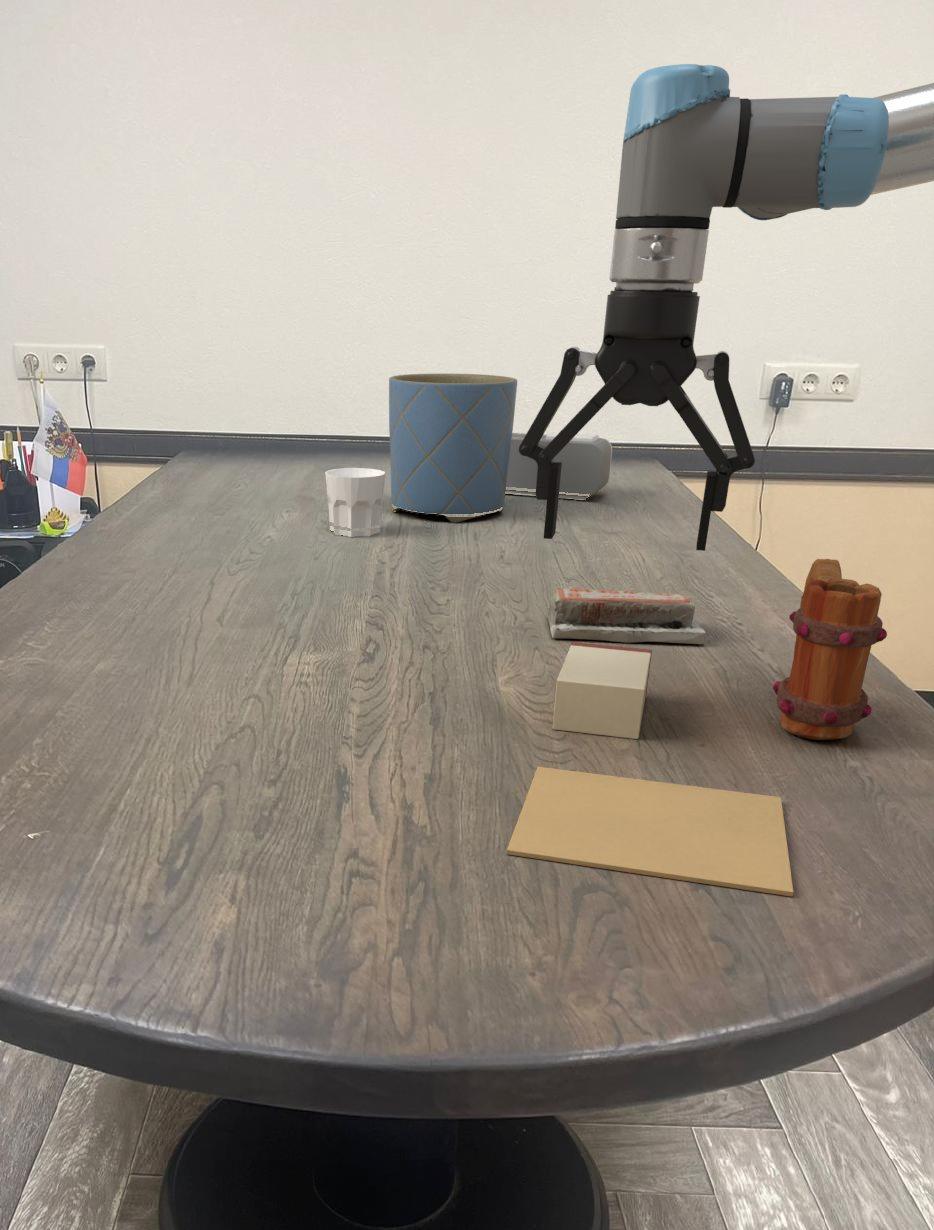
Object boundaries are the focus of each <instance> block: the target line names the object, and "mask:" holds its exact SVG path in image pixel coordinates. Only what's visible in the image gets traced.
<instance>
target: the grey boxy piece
mask: <svg viewBox="0 0 934 1230" xmlns="http://www.w3.org/2000/svg"><path fill="white" fill-rule="evenodd" d="M695 609H696V606H695V605H694V602H693V599H692V597H691V596H688V595H685V594H679V593H663V592H646V591H644V592H643V591H633V590H629V591H628V590H608V589H607V590H606V589H588V588H569V587H568V588H567V587H561V588H560V587H559V588H556V589H555V590H554V592H553V594H552V596H551V597H550V600H549V604H548V607H547V620H548V624H549V628H550V634H551V638H552V639H570V640H589V641H590V640H591V641H603V642H614V643H615V642H617V643H627V644H629V643H645V642H653V643H654V642H655V643H671V644H686V645H687V644H689V645H690V644H691V645H703V643H704V641H705V638H706V635H707V633H706V631H705V630H704V629H703V628H702V626H701V625H700V624H699V623H698V621H697V620H696V618H695V616H694V615H695Z"/></svg>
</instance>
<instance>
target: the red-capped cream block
mask: <svg viewBox="0 0 934 1230" xmlns="http://www.w3.org/2000/svg"><path fill="white" fill-rule="evenodd" d="M652 654H653V649H648V648H637V647H636V648H635V647H626V646H617V645H616V646H615V645H605V644H597V643H596V644H595V643H585V642H574V641H572V642H570V645H569V649H568V651H567V654H566V656H565V659H564V661H563V664H562V667H561V669H560V672H559V674H558V677H557V678H556V685H555V697H554V708H553V719H552V730H555V731H564V732H572V733H582V734H588V735H589V734H590V735H598V736H606V737H614V738H624V739H633V740H639V738H640V732H641V727H642V720H643V713H644V708H645V701H646V699H647V693H648V685H649V677H650V669H651V663H652Z"/></svg>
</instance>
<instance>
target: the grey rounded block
mask: <svg viewBox="0 0 934 1230" xmlns="http://www.w3.org/2000/svg"><path fill="white" fill-rule="evenodd" d="M558 433H559V432H555V431H554V432H551V433H549V434H546V433H544V434H543V436H542V438H541V439H540V441H539V443H538V444H541V445H543V446H545V447H546V446H547V445H548V444H549V443H550V442H551V441H552V440H553V439H554V438H555V437H556V436H557V435H558ZM526 434H527V432H521V433H520V432H512V440H511V448H510V455H509V464H508V473H507V482H506V487H516V488H527V489H536V483H537V470H538V465H537V463H536V461H535V460H533V459H531V458H529V457H527V456H523V455H521V454H520V453H519V446H520V444H521V443H522V441H523V439H524V437H525V436H526ZM612 456H613V446H612V443H611V442H610V441H609V440H608V439H607V438H604V437H599V435H598V434H591V433H590V434H588V433H577V434H576V435H575V436H574V437H573V438H572V439H571V440H570V442H569V443H568V444H567V445H566V446H565V447H564V448H563V449H562V450H561V451H560V452H559V453H558V454H557V455H556V456H555V457H554V460H553V462H562V467H561V478H560V488H559V492H565V493H567V492H568V493H579V494H590V495H591V494H593V495H594V494H596V493H598V492H599V491H600V490H602V489H603V488H604V487H606V485H607V484H608V483H609V480H610V476H611V467H612V459H613V458H612ZM505 492H511V493H521V494H532V495H536V492H528V491H516V490H506V491H505ZM590 495H589V496H590ZM587 497H588V496H578V495H566V494H559V498H572V499H584V500H585V499H586V498H587ZM585 501H586V500H585Z"/></svg>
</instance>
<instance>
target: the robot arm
mask: <svg viewBox="0 0 934 1230" xmlns="http://www.w3.org/2000/svg"><path fill="white" fill-rule="evenodd" d="M628 101H629V102H628V107H627V113H626V119H625V127H624V134H623V138H622V139H623V140H622V149H621V160H620V170H619V171H620V172H619V181H618V182H619V183H618V192H617V202H616V213H615V214H616V215H615V219H616V220H615V226H614V231H613V240H612V249H611V250H612V251H611V258H610V260H611V261H610V268H609V271H610V272H609V281H610V282H611V283H615V286H614V289H613V290H610V293H609V294H607V298H606V308H605V316H604V326H603V327H604V328H603V336H602V343H601V346H600V348H599V350H598V351H590V350H583V349H580V348H579V347H578V346H571V347H569V348H567V349H566V350H565V351H564V353H563V357H562V358H563V359H562V362H561V363H562V365H561V369H560V374H559V376H558V378H557V379H556V381H555V383H554V385H553V387H552V388H551V390H550V391H549V394H548V396H547V397H546V399H545V400H544V402H543V404H542V406H541V407H540V410H538V413H537V414H536V416H535V418H534V420H533V421H532V423H531V425H530V427H529V429H528V430H527V432H526V433H527V434H526V436H525V437H524V439H523V441H522V443H521V444H520V446H519V453H520V454H521V455H523V456H527V457H529V458H531V459H533V460H535V461H536V463H537V465H538V470H537V483H536V497H535V498H536V500H537V501H538V500H539V501H546V504H545V505H546V506H545V517H544V529H543V539H544V540H545V539H546V540H552V539H553V538H554V536H555V535H556V531H557V519H558V508H559V500H560V499H559V488H560V478H561V467H562V462H553V460H554V457H555V456H556V455H557V454H558V453H559V452H560V451H561V450H562V449H563V448H564V447H565V446H566V445H567V444H568V443H569V442H570V440H571V439H572V438H573V437H574V436H575V435H576V434H579V432H581V430H582V429H584V428H585V426H586V425H587V424H588V423H589V422H590V421H591V420H592V419H593V418H594V417H595V416H596V414H597V413H599V412H600V411H601V410H602V409H603V408H604V406H605V405H606V404H607V403H608V402H609V401H610V400H611V399H613V400H614V401H615V402H617V403H618V404H620V405H621V406H633V405H637V404H640V405H641V404H642V405H645V406H648V407H659V406H661V405H664V404H666V403H667V402H668V401H669V403H670V404H671V406H672V407H673V409H674V410H675V411H676V413H678V416H679V417H680V418H681V420H682V421H683V423H684V424H685V426H686V427H687V429H688V430H689V431H690V433H691V434H692V436H693V437H694V439H695V441H696V442H697V443H698V445H699V446H700V448H701V449H702V451H703V452H704V454H705V455H706V457H707V458H708V460H709V461H710V463H711V464H712V466H713V467H714V469H715V470H707V471H706V477H705V485H704V491H703V498H702V504H701V511H700V519H699V524H698V532H697V539H696V547H695V548H696V549H695V551H702V552H705V551H706V548H707V547H706V546H707V541H708V535H709V528H710V521H711V514H712V512H717V513H718V512H721V513H723V511H724V509H725V508H726V505H727V500H728V493H729V486H730V479H731V477H732V475H733V474H734V473H735V472H739V471H741V470H745V469H747V470H748V469H750V468H752V467H753V466H754V465H755V462H756V458H755V455H754V452H753V448H752V446H751V443H750V440H749V437H748V434H747V430H746V427H745V423H744V421H743V419H742V416H741V412H740V410H739V407H738V404H737V400H736V398H735V395H734V391H733V389H732V386H731V383H730V355H729V353H728V352H726V351H724V350H720V351H718V352H717V353H710V354H699V355H696V353H695V349H694V348H695V347H694V342H695V335H696V327H697V321H698V312H699V305H700V298H701V296H700V295H699V294H698V293H699V292H698V291H694V287H695V286H694V285H695V284H700V283H701V282H702V281H703V277H704V269H705V262H706V256H707V248H708V240H709V233H710V230H709V229H710V223H711V215H712V211H713V208H724V209H725V208H727V209H729V208H730V209H732V208H737V209H738V210H739V211H741V212H742V213H743V214H745V215H747V217H750V218H751V219H754V220H758V221H769V220H776V219H780V218H783V217H785V216H787V215H789V214H794V213H798V212H802V211H807V210H812V209H820V210H823V211H830V210H832V209H840V208H855V207H859V206H861V205H863V204H864V203H866V201H868V199H870V197H871V196H873V195H877V194H882V193H886V192H891V191H895V190H900V189H905V188H908V187H914V186H919V185H922V184H927V183H931V182H934V82H932V83H928V84H924V85H919V86H916V87H912V88H907V89H903V90H899V91H894V92H892V93H887V94H883V95H878V96H875V97H862V96H861V97H860V96H849V95H848V94H839V95H838V96H816V97H813V96H812V97H779V98H778V97H777V98H747V97H746V98H740V96H731V89H730V75H729V73H728V71H727V70H726V69H725V68H723V67H721V66H719V65H718V66H717V65H712V64H705V65H703V64H696V63H684V64H683V63H682V64H680V63H679V64H670V65H661V66H657V67H653V68H650V69H647V70H645V71H643V72H642V73H640V74H639V75H638V77H637V78H636V79H635V80H634V81H633V83H632V85H631V87H630V93H629V100H628ZM591 366H594V367H595V370H596V371H597V373H598V374H599V377H600V378H601V379H602V382H603V384H604V385H602V387H601V388H600V389H599V390H598V391H597V392H596V393H595V394H594V395H593V396H592V397H591V398H590V400H589V401H588V402H586V404H585V405H584V406H583V407H582V408H581V409H580V410H579V411H578V412H577V413H576V414H575V415H574V416H573V417H572V418H571V420H570V421H568V423H567V424H565V426H564V427H563V428H562V429H561V430H560V431H559V432H557V433H558V435H557V436H556V437H555V438H554V439H553V440H552V441H551V442H550V443H549V444H548V445H547V446H546V447H545V446H543V445H541V444H538V443H539V441H540V439H541V438H542V436H543V434H546V431H547V429H548V427H549V426H550V424H551V422H552V420H553V419H554V417H555V415H556V414H557V412H558V410H559V409H560V407H561V405H562V403H563V402H564V400H565V398H566V396H567V395H568V394H569V392H570V389H571V388H572V386H573V384H574V382H575V380H576V378H577V377H580V376H583V375H584V374H585V373H586V372H587V370H588V368H589V367H591ZM696 369H697V370H700V371H702V373H703V378H705V380H706V381H711V382H712V381H713V384H714V390H715V394H716V396H717V399H718V402H719V406H720V408H721V411H722V415H723V417H724V420H725V423H726V426H727V429H728V432H729V434H730V438H731V440H732V443H733V447H734V449H735V453H736V454H733V455H728V454H727V453H726V451H725V450H724V448H723V447H722V445H721V444H720V442H719V441H718V439H717V437H715V435H714V433H713V431H712V430H711V429H710V427H709V425H708V424H707V423H706V421H705V420H704V418H703V417H702V415H701V414H700V413H699V411H698V410H697V408H696V407H695V405H694V403H693V402H692V400H691V399H690V397H689V395H688V394H687V393H686V391H685V389H684V388H683V387H682V386H683V385H684V383H685V382H686V381H687V380H688V379H689V377H690V376H692V374H693V373H694V372H695V370H696Z"/></svg>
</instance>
